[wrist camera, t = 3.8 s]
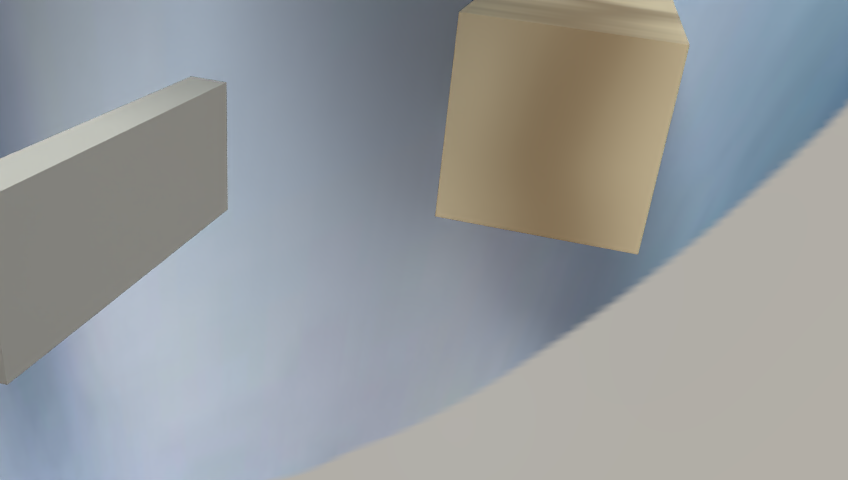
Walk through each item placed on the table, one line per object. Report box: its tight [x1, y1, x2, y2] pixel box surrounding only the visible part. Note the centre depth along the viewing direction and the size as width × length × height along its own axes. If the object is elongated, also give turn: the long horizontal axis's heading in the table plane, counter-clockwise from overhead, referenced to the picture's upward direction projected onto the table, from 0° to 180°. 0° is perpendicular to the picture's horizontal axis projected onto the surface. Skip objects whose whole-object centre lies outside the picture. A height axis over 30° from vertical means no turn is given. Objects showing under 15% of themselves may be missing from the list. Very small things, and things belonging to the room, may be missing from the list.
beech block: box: [435, 0, 689, 254], centre depth 22 cm, size 5×5×8 cm
